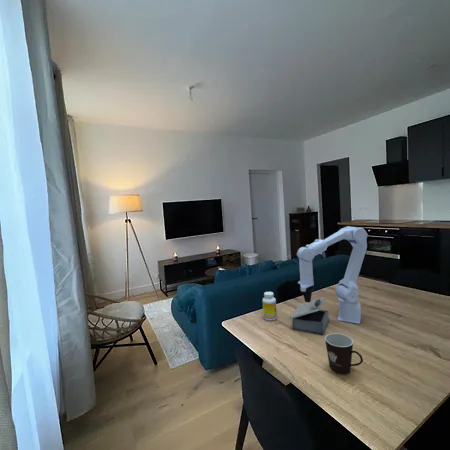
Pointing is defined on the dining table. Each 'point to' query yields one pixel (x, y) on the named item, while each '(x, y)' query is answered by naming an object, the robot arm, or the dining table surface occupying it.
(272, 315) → the supplement bottle
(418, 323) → the dining table surface
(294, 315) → the steel lid
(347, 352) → the coffee mug
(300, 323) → the grey square box
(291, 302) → the dining table surface
